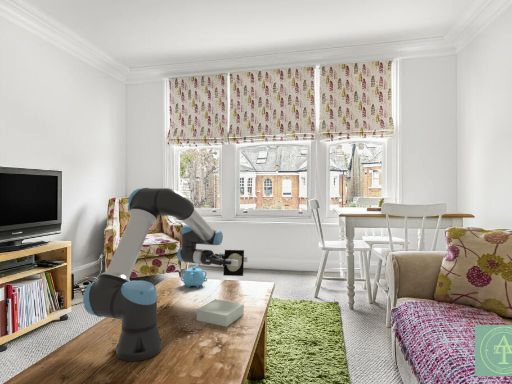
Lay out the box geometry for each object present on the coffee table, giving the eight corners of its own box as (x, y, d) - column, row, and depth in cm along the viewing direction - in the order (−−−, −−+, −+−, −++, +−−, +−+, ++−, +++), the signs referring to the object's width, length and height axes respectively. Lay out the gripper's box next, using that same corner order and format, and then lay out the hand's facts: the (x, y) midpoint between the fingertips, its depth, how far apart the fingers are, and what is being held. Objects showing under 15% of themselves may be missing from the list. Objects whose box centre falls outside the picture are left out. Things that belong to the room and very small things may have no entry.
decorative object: (225, 275, 167) (244, 276, 166) (222, 275, 158) (242, 275, 157) (227, 251, 171) (245, 251, 170) (223, 249, 161) (243, 249, 160)
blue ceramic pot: (188, 291, 184) (189, 271, 184) (177, 283, 196) (178, 265, 195) (208, 287, 192) (209, 268, 192) (196, 280, 203) (197, 262, 203)
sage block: (226, 327, 136) (226, 315, 136) (196, 321, 143) (196, 309, 143) (243, 315, 150) (243, 304, 150) (215, 309, 156) (215, 299, 156)
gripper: (215, 260, 181) (252, 264, 171) (191, 268, 162) (231, 274, 152) (215, 246, 181) (252, 250, 171) (191, 253, 162) (231, 257, 152)
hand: (242, 261), depth 162 cm, fingers closed on decorative object, 9 cm apart
